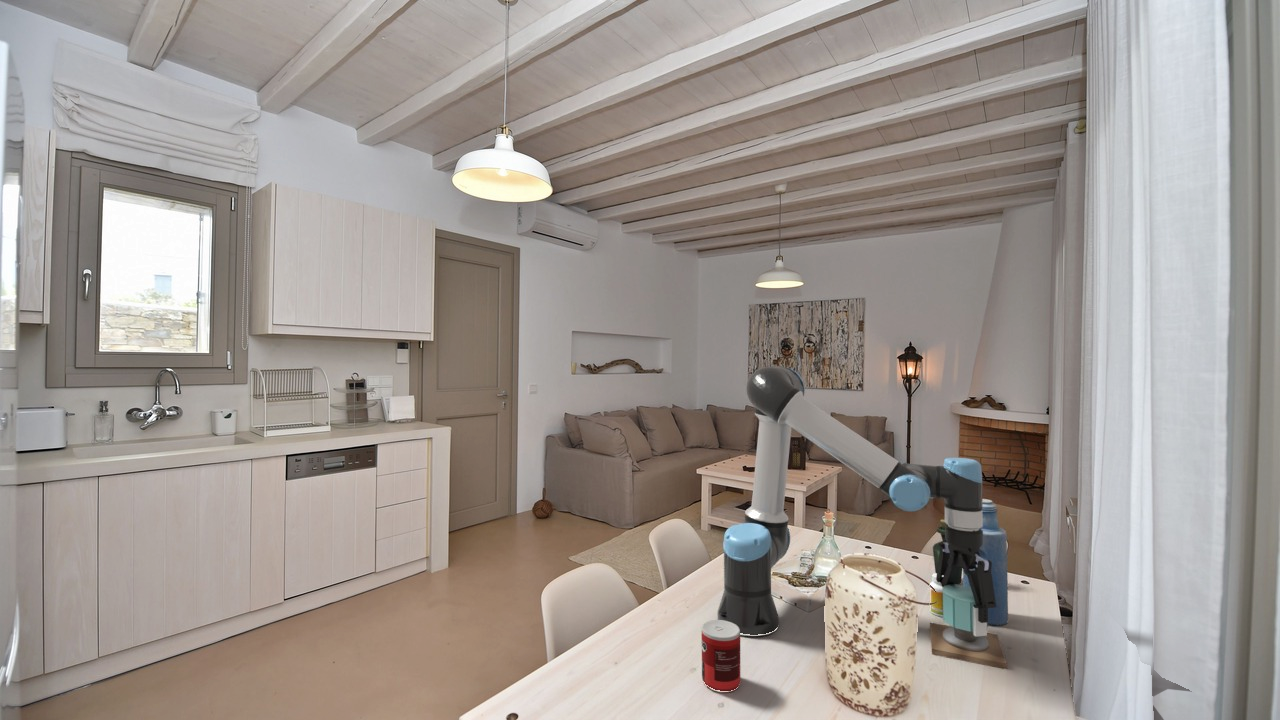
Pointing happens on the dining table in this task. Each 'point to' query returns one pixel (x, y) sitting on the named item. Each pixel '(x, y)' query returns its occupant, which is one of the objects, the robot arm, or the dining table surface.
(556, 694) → the dining table surface
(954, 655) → the stud post
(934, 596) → the supplement bottle
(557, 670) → the dining table surface
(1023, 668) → the dining table surface
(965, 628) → the cap
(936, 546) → the potion bottle
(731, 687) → the canned food
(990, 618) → the bottle
